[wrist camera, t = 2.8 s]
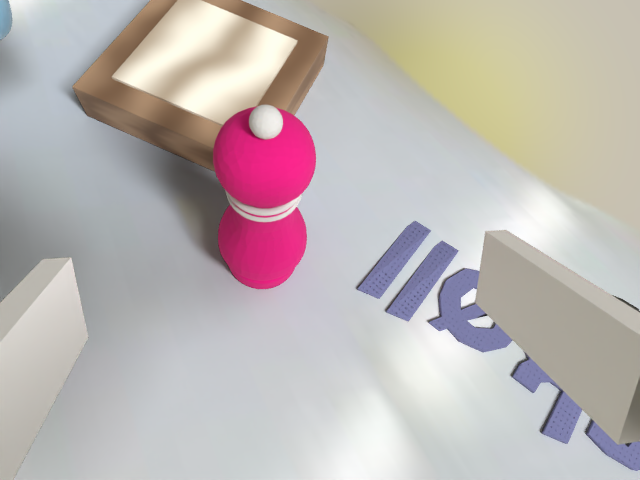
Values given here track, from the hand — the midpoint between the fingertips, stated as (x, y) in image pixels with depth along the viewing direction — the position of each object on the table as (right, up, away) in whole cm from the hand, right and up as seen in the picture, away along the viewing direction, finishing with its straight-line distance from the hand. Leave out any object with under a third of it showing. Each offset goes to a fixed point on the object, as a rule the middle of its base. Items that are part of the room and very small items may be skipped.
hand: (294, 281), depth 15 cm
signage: (+18, -8, +26) cm, 33 cm away
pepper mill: (-4, 0, +27) cm, 27 cm away
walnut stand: (-11, +17, +33) cm, 39 cm away
